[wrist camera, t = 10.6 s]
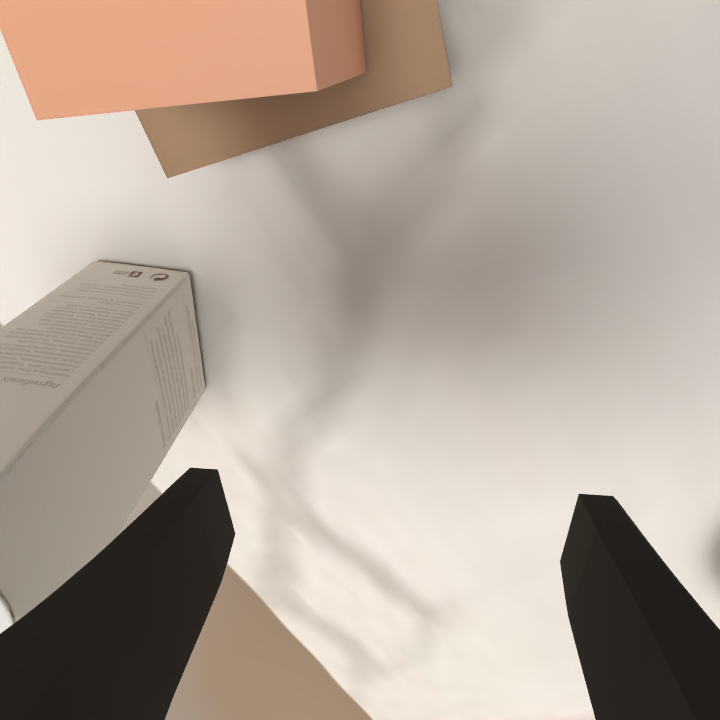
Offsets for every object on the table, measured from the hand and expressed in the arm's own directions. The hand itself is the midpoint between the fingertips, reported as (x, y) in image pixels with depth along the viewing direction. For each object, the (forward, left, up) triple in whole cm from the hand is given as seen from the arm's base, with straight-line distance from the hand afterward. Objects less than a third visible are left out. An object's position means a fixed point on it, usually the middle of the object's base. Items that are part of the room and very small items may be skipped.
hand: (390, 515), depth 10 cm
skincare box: (+11, +2, -11) cm, 15 cm away
